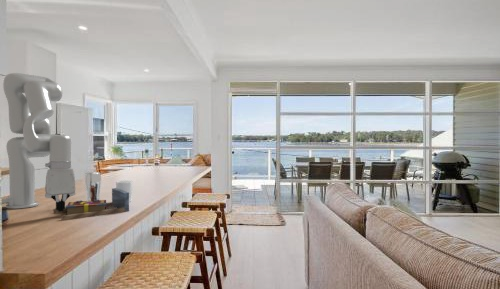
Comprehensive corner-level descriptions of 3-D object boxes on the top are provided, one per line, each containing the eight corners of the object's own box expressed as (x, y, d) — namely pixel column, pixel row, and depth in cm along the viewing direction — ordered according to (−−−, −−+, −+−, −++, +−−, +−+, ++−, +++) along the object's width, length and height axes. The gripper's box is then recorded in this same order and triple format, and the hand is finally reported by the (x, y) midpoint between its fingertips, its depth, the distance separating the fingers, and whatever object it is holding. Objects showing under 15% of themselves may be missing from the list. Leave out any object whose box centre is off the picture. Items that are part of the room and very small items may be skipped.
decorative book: (68, 211, 144) (68, 200, 144) (109, 209, 150) (109, 198, 150) (65, 217, 134) (65, 205, 134) (109, 214, 140) (109, 202, 140)
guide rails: (62, 220, 128) (62, 199, 128) (53, 212, 140) (53, 193, 140) (128, 210, 145) (128, 192, 145) (115, 205, 157) (115, 188, 157)
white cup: (135, 200, 169) (135, 180, 169) (128, 203, 162) (128, 182, 161) (120, 199, 170) (120, 180, 170) (112, 202, 162) (112, 182, 162)
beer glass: (104, 203, 160) (104, 172, 159) (92, 206, 154) (92, 174, 153) (94, 202, 163) (94, 171, 162) (81, 205, 156) (81, 173, 156)
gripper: (40, 167, 127) (40, 215, 127) (82, 165, 136) (82, 210, 137) (37, 165, 133) (37, 211, 133) (78, 164, 142) (78, 207, 143)
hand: (60, 210), depth 135 cm, fingers closed
